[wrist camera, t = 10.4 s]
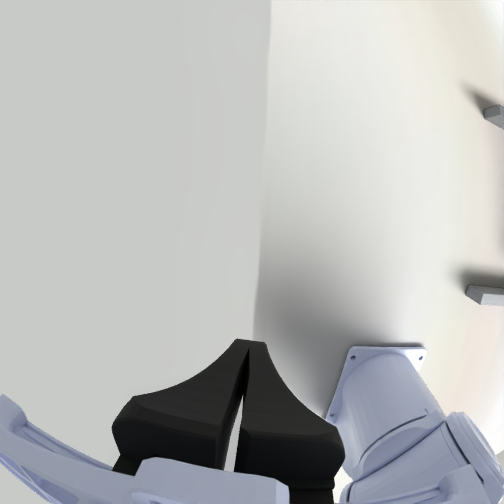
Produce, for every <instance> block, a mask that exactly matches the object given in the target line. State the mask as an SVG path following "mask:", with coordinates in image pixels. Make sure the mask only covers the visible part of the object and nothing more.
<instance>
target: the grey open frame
mask: <svg viewBox="0 0 504 504" xmlns="http://www.w3.org/2000/svg"><path fill="white" fill-rule="evenodd" d="M484 115H485V119H486V120H488V121H490V122H491V123H493V124H495V125H497V126H499V127H500V128H502V129H504V107H503V106H501V105H500V104H499V105H496V106H493V107H490V108H487V109H484ZM466 296H468V297H469V298H471V299H472V300H474V301H475V302H477V303H478V304H480V305H499V306H504V288H495V287H485V286H475V285H468V288H467V292H466Z"/></svg>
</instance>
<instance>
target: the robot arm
mask: <svg viewBox="0 0 504 504" xmlns="http://www.w3.org/2000/svg"><path fill="white" fill-rule="evenodd" d="M426 353H427V350H426V348H425V347H369V346H353V347H351V348H350V349H349V351H348V355H347V358H346V361H345V364H344V367H343V371H342V374H341V377H340V380H339V383H338V385H337V388H336V391H335V394H334V397H333V400H332V402H331V405H330V408H329V410H328V413H327V415H326V418H325V420H324V419H322V418H320V417H319V416H317V415H316V414H315V413H313V412H312V411H311V410H309V409H308V408H307V407H306V406H305V405H304V404H302V403H301V402H300V401H299V400H298V399H297V398H296V397H295V396H294V395H293V393H292V392H291V391H290V390H289V388H288V387H287V386H286V385H285V383H284V382H283V380H282V379H281V377H280V375H279V374H278V372H277V370H276V368H275V366H274V364H273V362H272V360H271V358H270V355H269V353H268V349H267V345H266V344H265V342H258V341H250V340H243V339H236V340H234V342H233V343H232V344H231V346H230V347H229V348H228V349H227V350H226V351H225V352H224V353H223V354H222V355H221V356H220V357H219V358H218V359H217V360H216V361H215V362H213V363H212V364H211V365H210V366H208V367H207V368H206V369H204V370H203V371H201V372H200V373H198V374H197V375H195V376H194V377H192V378H190V379H188V380H186V381H184V382H182V383H180V384H178V385H175V386H173V387H170V388H167V389H164V390H160V391H157V392H153V393H148V394H143V395H138V396H133V397H132V398H131V400H130V401H129V402H128V403H127V404H126V405H125V406H124V407H123V409H122V410H121V412H120V413H119V415H118V416H117V418H116V419H115V421H114V422H113V425H112V433H113V436H114V439H115V442H116V444H117V447H118V449H119V452H120V456H119V458H118V460H117V462H116V464H115V465H114V467H111V466H109V465H106V464H104V463H102V462H99V461H97V460H95V459H93V458H91V457H89V456H87V455H85V454H83V453H81V452H79V451H77V450H75V449H73V448H71V447H69V446H68V445H66V444H64V443H62V442H61V441H59V440H57V439H55V438H54V437H52V436H50V435H49V434H47V433H45V432H44V431H42V430H41V429H39V428H38V427H36V426H35V425H33V424H32V423H30V422H29V421H28V420H27V417H26V415H25V413H24V412H23V410H22V409H21V408H20V407H19V405H17V404H16V403H15V402H13V401H12V400H11V399H9V398H8V397H7V396H5V395H4V394H2V395H1V396H0V463H1V464H2V465H3V466H4V467H6V468H7V469H8V470H9V471H10V472H11V473H12V474H14V475H15V476H16V477H17V478H18V479H20V480H21V481H22V482H23V483H24V484H26V485H27V486H28V487H29V488H31V489H32V490H33V491H34V492H36V493H37V494H38V495H40V496H41V497H42V498H44V499H45V500H46V501H48V502H49V503H51V504H499V503H500V502H501V500H502V498H503V496H504V471H503V469H502V467H501V466H500V464H499V462H498V459H497V457H496V455H495V453H494V451H493V450H492V448H491V446H490V445H489V443H488V442H487V440H486V439H485V437H484V436H483V434H482V433H481V432H480V430H479V429H478V428H477V426H476V425H475V424H474V423H473V421H472V420H471V419H470V418H469V417H468V416H467V415H466V414H465V413H464V412H457V413H456V412H451V413H450V414H449V416H448V417H446V415H445V413H444V412H443V410H442V409H441V407H440V405H439V404H438V402H437V401H436V399H435V397H434V396H433V394H432V393H431V391H430V390H429V388H428V387H427V385H426V384H425V382H424V381H423V379H422V378H421V376H420V375H419V373H418V372H419V370H420V368H421V365H422V363H423V361H424V358H425V356H426ZM354 355H355V357H354V358H351V357H352V356H354ZM420 356H421V357H420ZM419 357H420V358H419ZM242 396H243V410H242V420H241V425H240V431H239V439H238V446H237V453H236V460H235V467H234V472H229V471H224V467H225V461H226V456H227V451H228V446H229V440H230V436H231V432H232V428H233V425H234V422H235V419H236V416H237V412H238V409H239V406H240V403H241V399H242ZM333 413H334V414H333ZM334 425H335V426H334ZM341 466H343V469H344V471H345V472H346V473H347V475H348V476H349V477H351V478H352V479H353V482H351V483H349V484H348V485H346V486H345V488H344V489H343V491H342V493H341V496H340V502H339V503H334V500H333V491H332V489H334V487H335V482H334V477H335V475H336V474H337V472H338V471H339V469H340V467H341Z"/></svg>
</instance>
